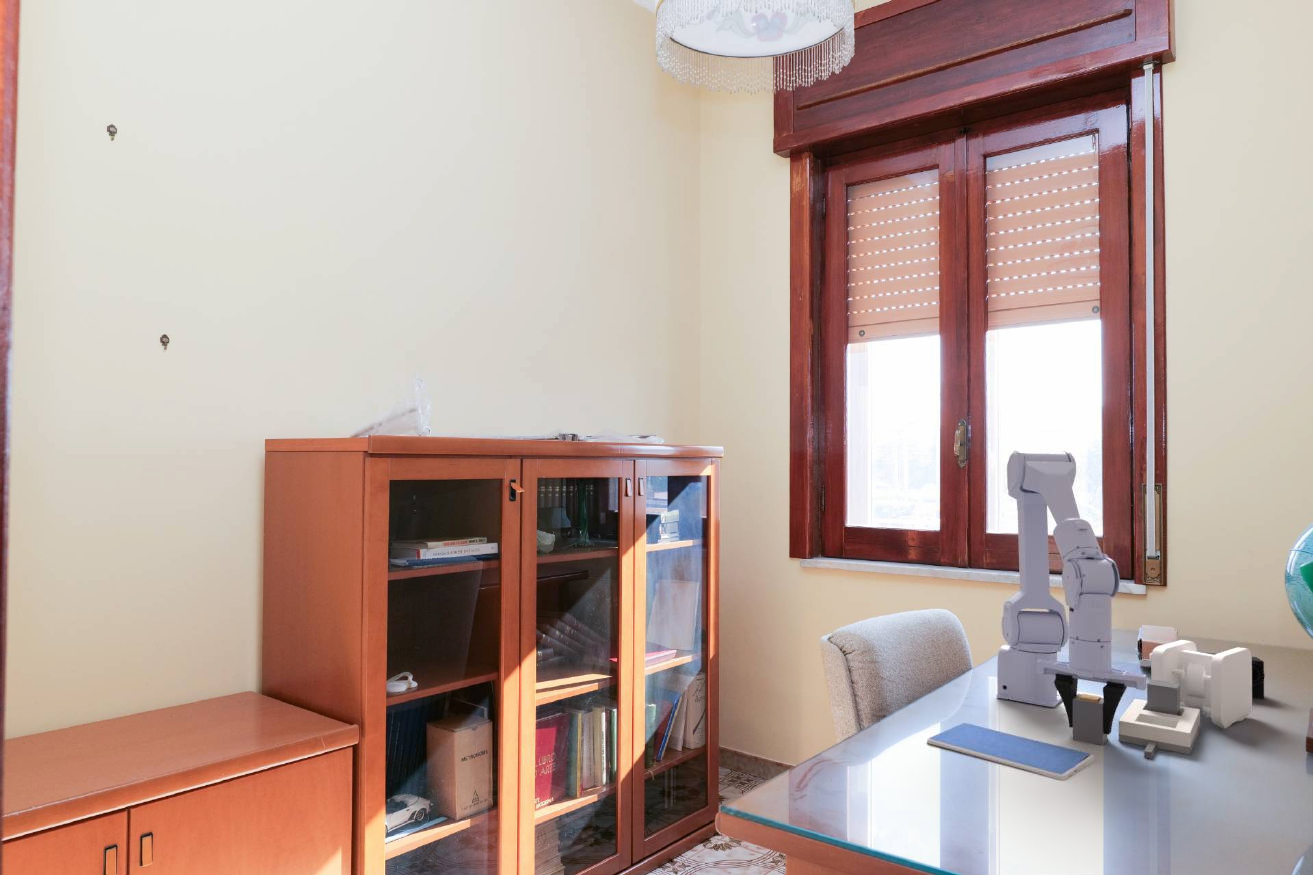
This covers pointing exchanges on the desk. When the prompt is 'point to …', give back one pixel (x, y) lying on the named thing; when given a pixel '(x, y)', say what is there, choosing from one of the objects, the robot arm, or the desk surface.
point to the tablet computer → (1013, 750)
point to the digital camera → (1256, 677)
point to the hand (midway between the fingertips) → (1090, 729)
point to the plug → (1088, 719)
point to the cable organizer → (1207, 679)
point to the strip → (1160, 720)
